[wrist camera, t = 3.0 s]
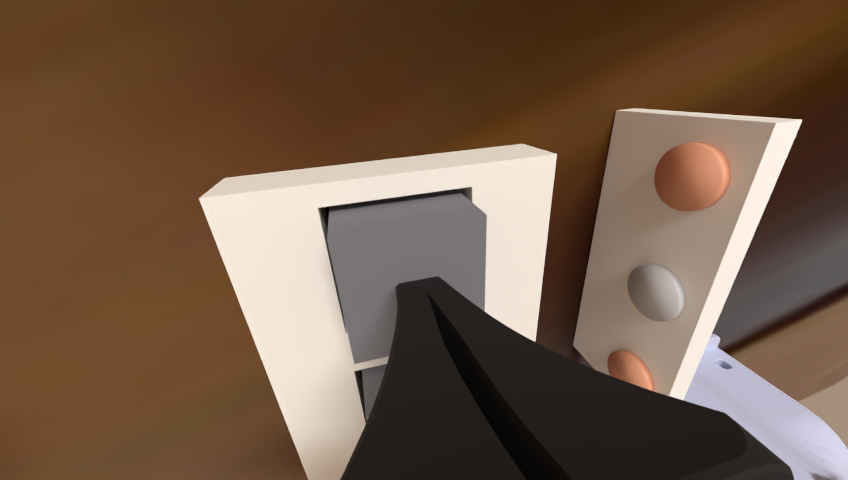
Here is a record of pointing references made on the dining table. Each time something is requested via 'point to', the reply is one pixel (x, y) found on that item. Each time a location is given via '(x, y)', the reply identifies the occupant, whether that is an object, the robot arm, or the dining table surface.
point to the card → (673, 238)
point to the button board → (316, 284)
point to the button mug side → (402, 258)
